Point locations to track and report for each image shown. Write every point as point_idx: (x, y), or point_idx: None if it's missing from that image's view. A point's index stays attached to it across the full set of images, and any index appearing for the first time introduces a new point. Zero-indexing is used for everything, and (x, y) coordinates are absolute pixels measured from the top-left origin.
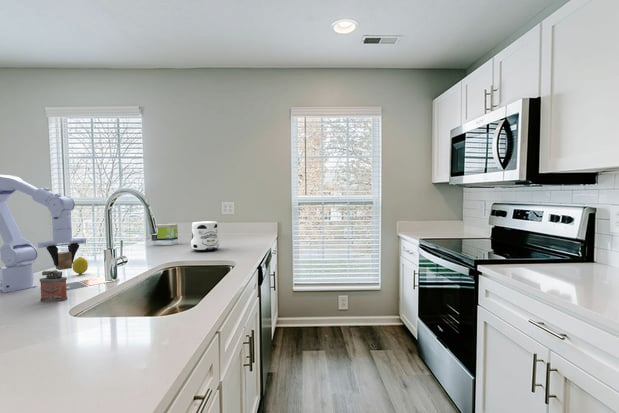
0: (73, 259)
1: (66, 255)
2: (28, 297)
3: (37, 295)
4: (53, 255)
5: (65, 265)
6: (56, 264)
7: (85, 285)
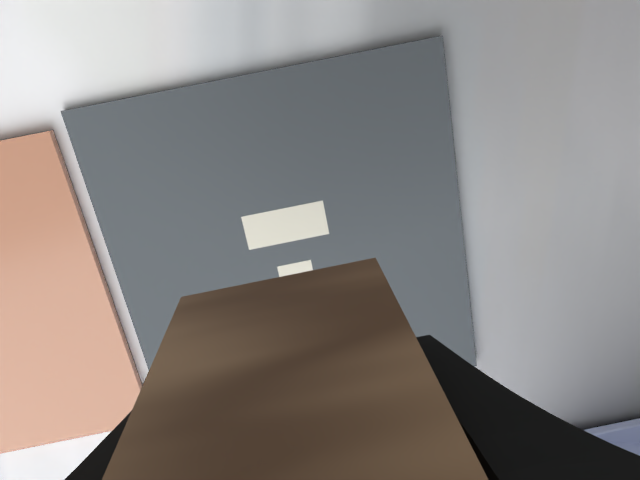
0: (107, 439)
1: (240, 459)
2: (606, 63)
3: (532, 90)
4: (614, 449)
5: (279, 306)
6: (434, 343)
7: (95, 181)
